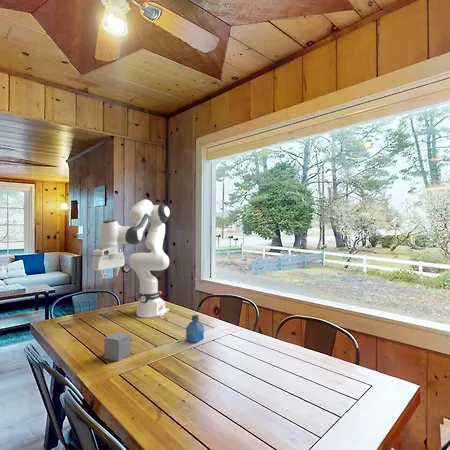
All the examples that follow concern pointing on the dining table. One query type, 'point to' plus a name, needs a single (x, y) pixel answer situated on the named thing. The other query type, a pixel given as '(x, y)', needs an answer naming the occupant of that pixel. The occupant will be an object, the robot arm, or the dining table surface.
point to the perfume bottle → (195, 330)
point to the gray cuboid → (117, 346)
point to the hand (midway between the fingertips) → (109, 277)
